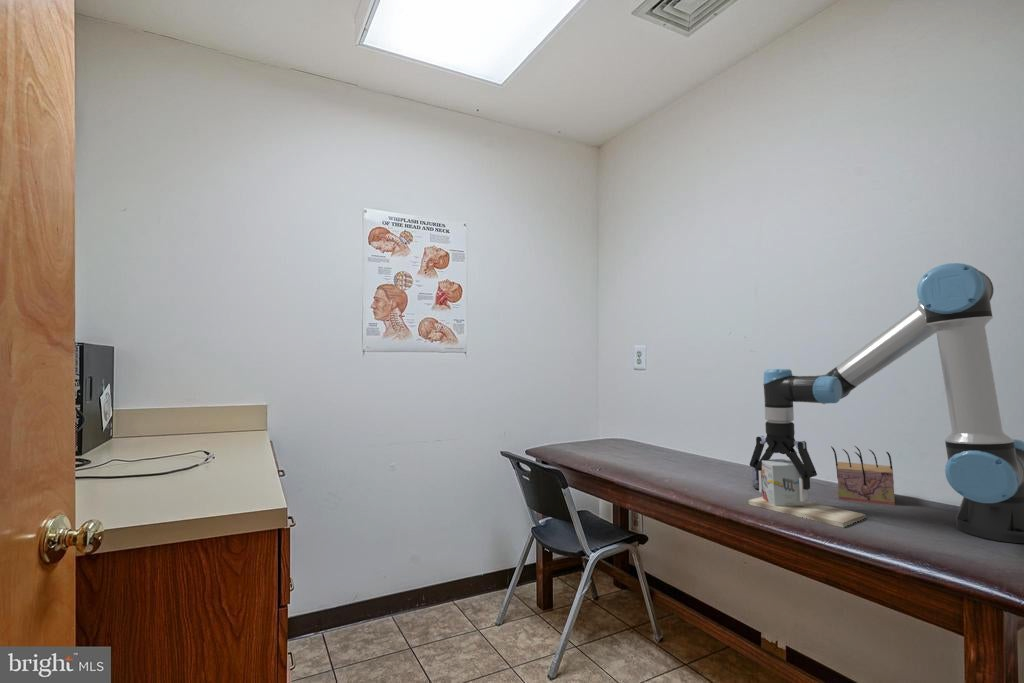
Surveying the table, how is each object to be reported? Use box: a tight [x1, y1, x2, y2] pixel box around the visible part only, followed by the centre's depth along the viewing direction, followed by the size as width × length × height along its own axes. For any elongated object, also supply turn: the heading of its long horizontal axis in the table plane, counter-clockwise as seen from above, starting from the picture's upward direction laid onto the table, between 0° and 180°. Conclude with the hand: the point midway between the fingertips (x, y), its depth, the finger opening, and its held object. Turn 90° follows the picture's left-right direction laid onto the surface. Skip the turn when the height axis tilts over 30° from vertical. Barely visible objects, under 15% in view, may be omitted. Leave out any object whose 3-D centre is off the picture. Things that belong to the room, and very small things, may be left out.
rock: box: [750, 467, 759, 490], centre depth 169 cm, size 11×10×10 cm
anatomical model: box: [830, 445, 896, 506], centre depth 155 cm, size 16×11×15 cm
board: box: [747, 495, 867, 528], centre depth 143 cm, size 26×12×1 cm, turn 32°
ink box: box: [762, 458, 804, 506], centre depth 148 cm, size 9×9×12 cm
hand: (782, 496), depth 148 cm, fingers closed on ink box, 11 cm apart
